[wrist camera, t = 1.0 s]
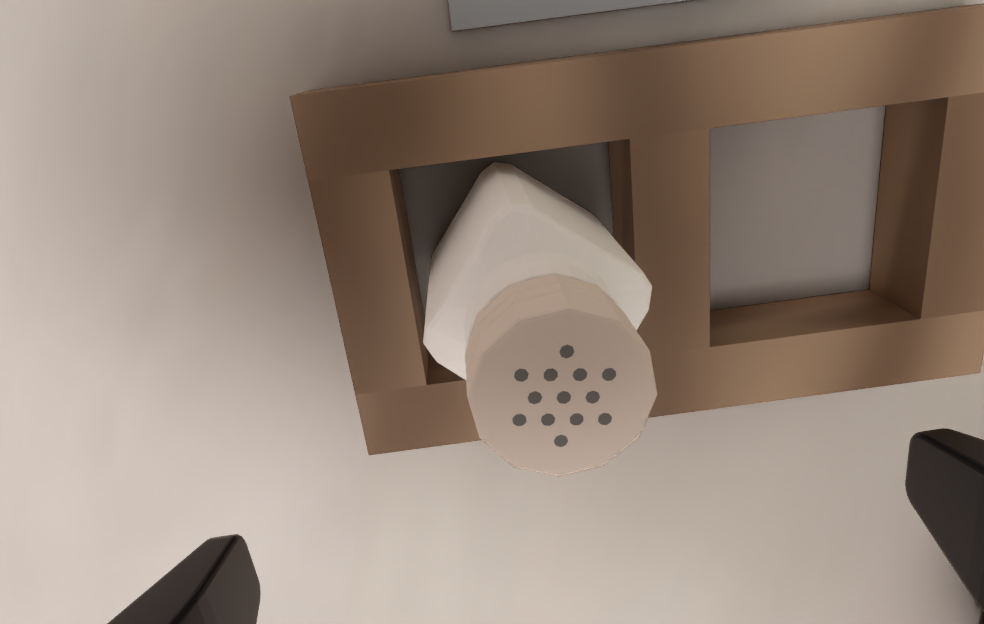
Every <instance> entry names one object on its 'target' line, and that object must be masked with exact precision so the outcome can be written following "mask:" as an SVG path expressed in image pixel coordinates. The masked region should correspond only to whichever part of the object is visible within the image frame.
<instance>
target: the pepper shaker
mask: <svg viewBox="0 0 984 624" xmlns="http://www.w3.org/2000/svg"><path fill="white" fill-rule="evenodd" d="M651 291H652V285H651V283H650V282H649V280H648V279H647V277H646V276H645V274H644V273H643V271H642V270H641V269H640V268H639V267H638V265H637V264H636V263H635V262H634V261H633V260H632V258H631V257H630V256H629V255H628V254H627V253H626V252H625V250H624V249H623V248H622V247H621V246H620V245H619V243H618V242H617V241H616V240H615V239H614V238H613V236H612V235H611V234H610V233H609V232H608V231H607V230H606V228H605V227H604V226H603V225H602V224H601V223H600V221H599V220H598V219H597V218H596V217H595V216H594V215H593V214H592V213H590V212H588V211H587V210H585V209H583V208H582V207H580V206H578V205H577V204H575V203H574V202H572V201H570V200H569V199H567V198H565V197H564V196H562V195H560V194H559V193H557V192H555V191H554V190H552V189H551V188H549V187H547V186H546V185H544V184H542V183H541V182H539V181H537V180H536V179H534V178H532V177H531V176H529V175H528V174H526V173H524V172H523V171H521V170H519V169H518V168H516V167H514V166H513V165H511V164H505V163H498V162H494V163H492V164H491V165H490V166H488V167H487V168H486V169H484V170H483V171H482V172H481V173H480V175H479V176H478V178H477V180H476V181H475V183H474V185H473V186H472V188H471V190H470V192H469V193H468V195H467V197H466V198H465V200H464V202H463V203H462V205H461V207H460V208H459V210H458V212H457V214H456V215H455V217H454V219H453V220H452V222H451V224H450V225H449V227H448V229H447V230H446V232H445V234H444V236H443V237H442V239H441V241H440V242H439V244H438V246H437V247H436V249H435V251H434V253H433V254H432V256H431V263H430V272H429V283H428V294H427V304H426V315H425V326H424V337H423V344H424V345H425V346H426V348H427V349H428V351H429V352H430V353H431V355H432V356H433V357H434V359H435V360H436V362H438V363H439V364H441V365H442V366H444V367H446V368H447V369H449V370H450V371H452V372H454V373H455V374H457V375H458V376H460V377H462V378H463V379H465V380H466V384H467V398H468V401H469V404H470V408H471V411H472V414H473V418H474V421H475V425H476V428H477V431H478V435H479V438H480V439H481V440H483V441H484V442H485V443H486V444H487V445H488V446H490V447H491V448H492V449H493V450H494V451H495V452H497V453H498V454H499V455H500V456H501V457H502V458H504V459H505V460H506V461H507V462H508V463H509V464H510V465H512V466H513V467H516V468H521V469H525V470H530V471H535V472H539V473H544V474H549V475H553V476H563V475H567V474H571V473H575V472H579V471H583V470H587V469H592V468H596V467H600V466H604V465H605V464H606V463H608V462H609V461H610V460H611V459H613V458H614V457H615V456H616V455H617V454H619V453H620V452H621V451H622V450H624V449H625V448H626V447H627V446H629V445H630V444H631V443H632V442H634V441H635V440H636V439H637V438H638V437H640V435H641V432H642V430H643V427H644V425H645V423H646V420H647V418H648V416H649V413H650V411H651V408H652V406H653V404H654V401H655V399H656V396H657V389H656V383H655V377H654V372H653V366H652V360H651V354H650V350H649V349H648V347H647V346H646V344H645V343H644V341H643V340H642V338H641V337H640V335H639V334H638V333H637V329H638V327H639V325H640V324H641V322H642V320H643V319H644V317H645V315H646V314H647V312H648V310H649V305H650V298H651Z"/></svg>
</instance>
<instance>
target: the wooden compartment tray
mask: <svg viewBox="0 0 984 624" xmlns="http://www.w3.org/2000/svg"><path fill="white" fill-rule="evenodd" d="M290 101H291V105H292V110H293V114H294V119H295V123H296V128H297V132H298V137H299V142H300V146H301V151H302V155H303V160H304V164H305V169H306V173H307V178H308V182H309V187H310V191H311V196H312V200H313V205H314V209H315V214H316V218H317V223H318V227H319V232H320V237H321V241H322V246H323V250H324V255H325V259H326V264H327V268H328V273H329V277H330V282H331V286H332V291H333V295H334V300H335V304H336V309H337V313H338V318H339V323H340V327H341V332H342V336H343V341H344V345H345V350H346V354H347V359H348V363H349V368H350V372H351V377H352V381H353V386H354V390H355V395H356V399H357V404H358V408H359V413H360V418H361V422H362V427H363V431H364V436H365V440H366V445H367V449H368V454H369V455H374V454H382V453H389V452H397V451H404V450H411V449H419V448H426V447H434V446H441V445H449V444H456V443H463V442H471V441H478V440H481V439H480V438H479V435H478V431H477V428H476V425H475V421H474V418H473V414H472V411H471V408H470V404H469V401H468V398H467V384H466V380H465V379H463V378H462V377H460V376H458V375H457V374H455V373H454V372H452V371H450V370H449V369H447V368H446V367H444V366H442V365H441V364H439V363H438V362H436V360H435V359H434V357H433V356H432V355H431V353H430V352H429V351H428V349H427V348H426V346H425V345H424V344H423V337H424V326H425V320H424V314H423V308H422V302H421V296H420V291H419V285H418V279H417V273H416V267H415V261H414V255H413V249H412V244H411V238H410V232H409V226H408V220H407V214H406V208H405V202H404V196H403V191H402V185H401V179H400V173H399V169H402V168H410V167H418V166H425V165H433V164H441V163H448V162H456V161H463V160H471V159H479V158H486V157H494V156H502V155H509V154H517V153H525V152H532V151H540V150H548V149H555V148H563V147H571V146H578V145H586V144H594V143H601V142H609V158H610V176H611V195H612V213H613V231H614V239H615V240H616V241H617V242H618V243H619V245H620V246H621V247H622V248H623V249H624V250H625V252H626V253H627V254H628V255H629V256H630V257H631V258H632V260H633V261H634V262H635V263H636V264H637V265H638V267H639V268H640V269H641V270H642V271H643V273H644V274H645V276H646V277H647V279H648V280H649V282H650V283H651V285H652V291H651V298H650V305H649V310H648V312H647V314H646V315H645V317H644V319H643V320H642V322H641V324H640V325H639V327H638V329H637V333H638V334H639V335H640V337H641V338H642V340H643V341H644V343H645V344H646V346H647V347H648V349H649V350H650V354H651V360H652V366H653V372H654V377H655V383H656V389H657V396H656V399H655V401H654V404H653V406H652V408H651V411H650V413H649V416H648V418H649V417H656V416H664V415H671V414H679V413H686V412H694V411H701V410H708V409H716V408H723V407H731V406H738V405H746V404H753V403H760V402H768V401H775V400H783V399H790V398H798V397H805V396H812V395H820V394H827V393H835V392H842V391H850V390H857V389H864V388H872V387H879V386H887V385H894V384H902V383H909V382H916V381H924V380H931V379H939V378H946V377H954V376H961V375H968V374H976V373H980V372H981V366H982V360H983V354H984V4H975V5H965V6H957V7H950V8H942V9H934V10H926V11H919V12H911V13H903V14H896V15H888V16H880V17H872V18H865V19H857V20H849V21H841V22H834V23H826V24H818V25H811V26H803V27H795V28H787V29H780V30H772V31H764V32H757V33H749V34H741V35H733V36H726V37H718V38H710V39H702V40H695V41H687V42H679V43H672V44H664V45H656V46H648V47H641V48H633V49H625V50H617V51H610V52H602V53H594V54H587V55H579V56H571V57H563V58H556V59H548V60H540V61H532V62H525V63H517V64H509V65H502V66H494V67H486V68H478V69H471V70H463V71H455V72H448V73H440V74H432V75H424V76H417V77H409V78H401V79H393V80H386V81H378V82H370V83H363V84H355V85H347V86H339V87H332V88H324V89H316V90H309V91H306V92H302V93H299V94H295V95H292V96H290ZM884 105H886V115H885V126H884V137H883V147H882V158H881V169H880V180H879V190H878V201H877V212H876V222H875V233H874V244H873V254H872V265H871V276H870V287H869V290H862V291H855V292H847V293H840V294H832V295H825V296H817V297H810V298H802V299H795V300H787V301H780V302H772V303H765V304H757V305H750V306H742V307H735V308H727V309H720V310H712V311H710V128H716V127H724V126H731V125H739V124H747V123H754V122H762V121H770V120H777V119H785V118H792V117H800V116H808V115H815V114H823V113H831V112H838V111H846V110H854V109H861V108H869V107H877V106H884Z"/></svg>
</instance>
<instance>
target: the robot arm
mask: <svg viewBox="0 0 984 624" xmlns="http://www.w3.org/2000/svg"><path fill="white" fill-rule="evenodd" d="M905 486H906V492H907V496H908V498H909V500H910V502H911V504H912V506H913V507H914V509H915V510H916V512H917V513H918V515H919V516H920V518H921V519H922V521H923V523H924V524H925V526H926V527H927V529H928V530H929V532H930V533H931V535H932V536H933V538H934V539H935V541H936V542H937V544H938V546H939V547H940V549H941V550H942V552H943V553H944V555H945V556H946V558H947V559H948V561H949V562H950V564H951V565H952V567H953V569H954V570H955V572H956V573H957V575H958V576H959V578H960V579H961V581H962V582H963V584H964V585H965V587H966V588H967V590H968V591H969V593H970V594H971V595H972V597H973V598H974V600H975V601H976V603H977V604H978V605H979V607H980V608H981V609H982V611H983V612H984V440H982V439H979V438H976V437H973V436H970V435H967V434H964V433H960V432H957V431H954V430H951V429H936V430H929V431H923V432H918V433H916V434H915V435H913V437H912V438H911V440H910V445H909V454H908V463H907V472H906V481H905ZM259 604H260V584H259V580H258V577H257V574H256V571H255V568H254V565H253V562H252V559H251V556H250V553H249V550H248V547H247V544H246V542H245V540H244V539H243V537H242V536H240V535H238V534H234V535H228V536H221V537H214V538H210V539H208V540H207V541H205V542H204V543H203V544H202V545H200V546H199V547H198V548H197V549H196V550H195V551H193V552H192V553H191V554H190V555H189V556H187V557H186V558H185V559H184V560H183V561H181V562H180V563H179V564H178V565H177V566H175V567H174V568H173V569H172V570H171V571H170V572H168V573H167V574H166V575H165V576H164V577H162V578H161V579H160V580H159V581H158V582H156V583H155V584H154V585H153V586H152V587H150V588H149V589H148V590H147V591H146V592H145V593H143V594H142V595H141V596H140V597H139V598H137V599H136V600H135V601H134V602H133V603H131V604H130V605H129V606H128V607H127V608H125V609H124V610H123V611H122V612H121V613H120V614H118V615H117V616H116V617H115V618H114V619H112V620H111V621H110V622H109V623H108V624H256V622H257V616H258V610H259ZM983 624H984V620H983Z"/></svg>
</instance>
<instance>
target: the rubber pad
mask: <svg viewBox="0 0 984 624" xmlns="http://www.w3.org/2000/svg"><path fill="white" fill-rule="evenodd" d="M684 1H692V0H448V4H449V12H450V19H451V27H452V31H459V30H467V29H475V28H483V27H490V26H498V25H506V24H514V23H521V22H529V21H537V20H545V19H552V18H560V17H568V16H576V15H583V14H591V13H599V12H607V11H614V10H622V9H630V8H638V7H645V6H653V5H661V4H669V3H676V2H684Z"/></svg>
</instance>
